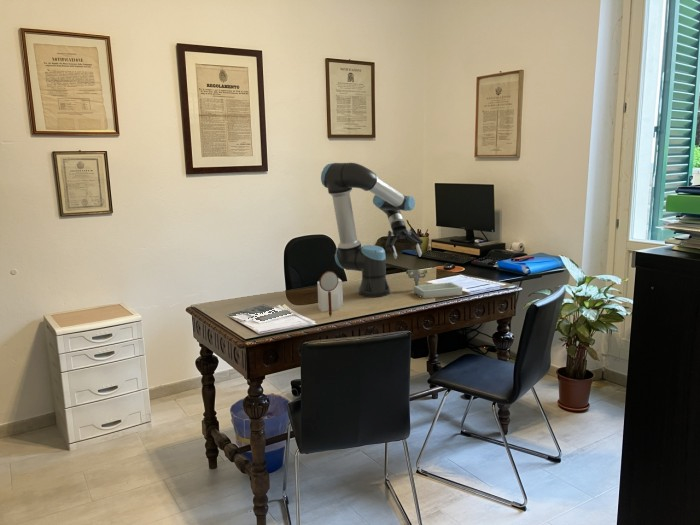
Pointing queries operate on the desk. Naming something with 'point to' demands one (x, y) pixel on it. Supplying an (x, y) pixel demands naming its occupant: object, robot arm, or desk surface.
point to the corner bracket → (335, 297)
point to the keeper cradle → (438, 290)
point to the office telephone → (260, 310)
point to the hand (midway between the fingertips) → (408, 256)
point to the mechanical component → (416, 275)
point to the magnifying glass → (329, 285)
